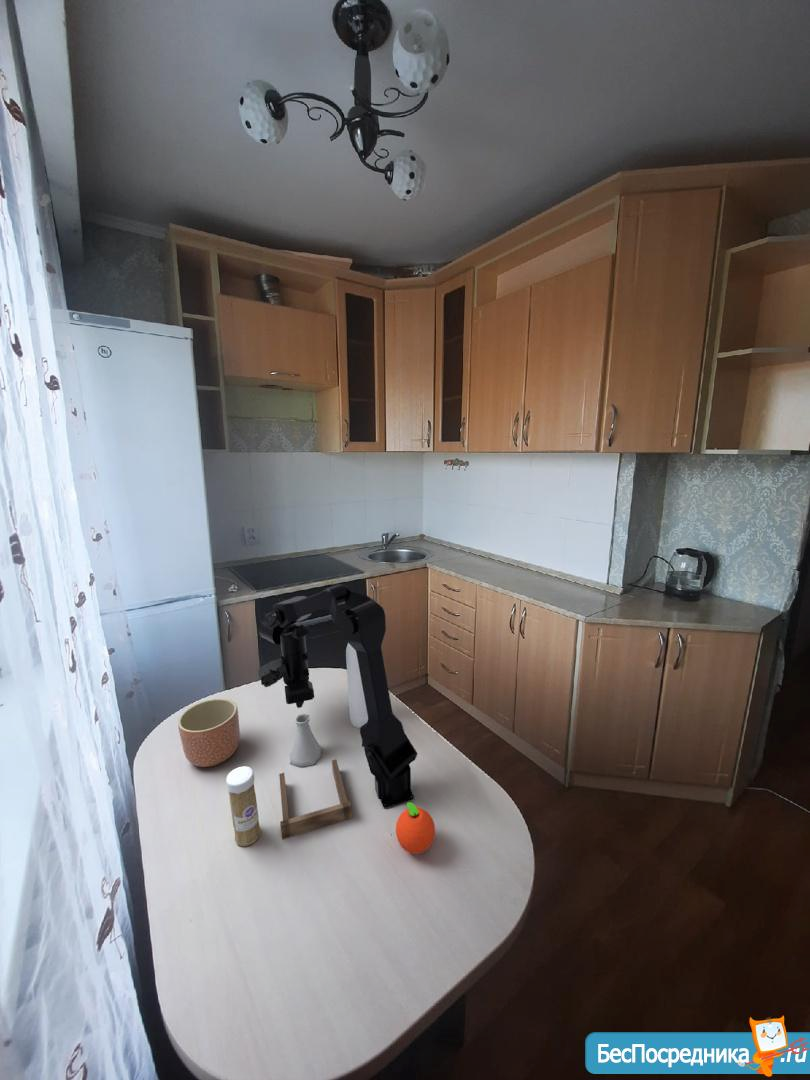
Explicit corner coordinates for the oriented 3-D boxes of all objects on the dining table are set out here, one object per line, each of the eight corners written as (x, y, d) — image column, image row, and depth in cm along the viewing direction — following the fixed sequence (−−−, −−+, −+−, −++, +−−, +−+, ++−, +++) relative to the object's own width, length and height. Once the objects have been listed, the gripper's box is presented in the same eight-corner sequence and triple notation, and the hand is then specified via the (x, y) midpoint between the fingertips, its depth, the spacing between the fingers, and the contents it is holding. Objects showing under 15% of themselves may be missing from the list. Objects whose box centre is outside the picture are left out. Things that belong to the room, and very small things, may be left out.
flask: (325, 746, 102) (322, 709, 100) (316, 768, 95) (313, 729, 93) (296, 744, 103) (292, 707, 101) (284, 767, 96) (280, 728, 94)
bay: (339, 770, 95) (338, 758, 94) (352, 818, 83) (351, 805, 82) (278, 786, 91) (276, 774, 90) (282, 839, 79) (280, 826, 78)
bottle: (348, 730, 108) (341, 618, 100) (351, 710, 115) (344, 605, 108) (380, 728, 108) (375, 617, 101) (381, 709, 115) (376, 604, 108)
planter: (243, 765, 97) (237, 722, 94) (182, 782, 93) (174, 738, 90) (242, 731, 108) (236, 692, 106) (187, 745, 104) (180, 705, 101)
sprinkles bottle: (246, 851, 77) (237, 788, 73) (229, 840, 79) (220, 778, 76) (266, 831, 80) (258, 770, 77) (249, 821, 83) (241, 761, 79)
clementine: (389, 831, 80) (387, 799, 78) (423, 818, 82) (423, 787, 81) (404, 870, 73) (403, 836, 71) (441, 855, 75) (441, 822, 73)
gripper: (258, 638, 109) (264, 693, 113) (258, 675, 92) (266, 739, 96) (302, 631, 113) (307, 684, 116) (311, 665, 95) (317, 727, 99)
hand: (299, 706), depth 107 cm, fingers closed
